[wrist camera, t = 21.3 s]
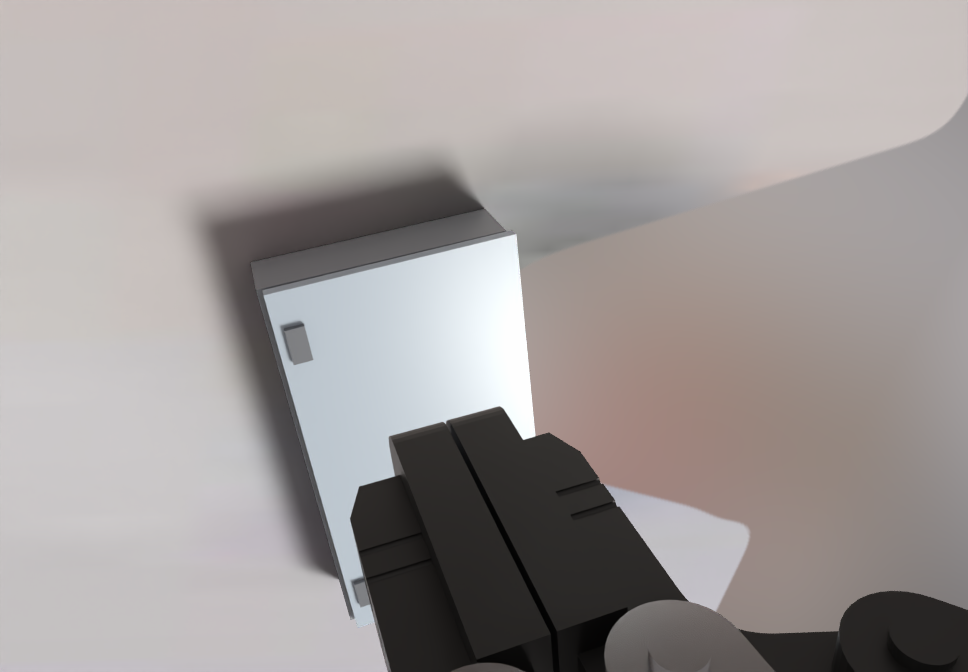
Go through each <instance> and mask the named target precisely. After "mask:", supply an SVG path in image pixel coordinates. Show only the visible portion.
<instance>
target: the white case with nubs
mask: <svg viewBox="0 0 968 672" xmlns="http://www.w3.org/2000/svg"><path fill="white" fill-rule="evenodd" d="M502 232H506V230H505V229H504V228H503V227H502V226H501V225H500V224H499V223H498V222H497V221H496V220H495V219H494V218H493V217H492V216H491V215H490V213H489V212H488V211H487V210H486V209H481V210H477V211H472V212H468V213H464V214H459V215H455V216H451V217H446V218H442V219H437V220H433V221H429V222H424V223H420V224H416V225H411V226H407V227H403V228H398V229H394V230H389V231H385V232H381V233H376V234H372V235H368V236H363V237H359V238H355V239H350V240H346V241H341V242H337V243H333V244H328V245H324V246H320V247H315V248H311V249H306V250H302V251H298V252H293V253H289V254H285V255H280V256H276V257H272V258H267V259H263V260H258V261H254V262H250V263H251V268H252V273H253V279H254V284H255V289H256V293H257V296H258V300H259V303H260V307H261V310H262V314H263V317H264V321H265V324H266V328H267V331H268V334H269V338H270V341H271V345H272V348H273V352H274V355H275V359H276V362H277V366H278V369H279V373H280V376H281V380H282V383H283V387H284V390H285V393H286V397H287V400H288V404H289V407H290V411H291V414H292V418H293V421H294V425H295V428H296V432H297V435H298V439H299V442H300V446H301V449H302V453H303V456H304V459H305V463H306V466H307V470H308V473H309V477H310V480H311V484H312V487H313V491H314V494H315V498H316V501H317V505H318V508H319V512H320V515H321V518H322V522H323V525H324V529H325V532H326V536H327V539H328V543H329V546H330V550H331V553H332V557H333V560H334V564H335V567H336V571H337V574H338V577H339V581H340V584H341V588H342V591H343V595H344V598H345V602H346V605H347V609H348V612H349V616H350V619H351V620H352V619H355V617H354V613H353V610H352V606H351V603H350V599H349V595H348V592H347V588H346V585H345V581H344V578H343V574H342V571H341V567H340V564H339V560H338V557H337V553H336V550H335V546H334V543H333V539H332V536H331V532H330V528H329V525H328V521H327V518H326V514H325V511H324V507H323V504H322V500H321V497H320V493H319V490H318V486H317V483H316V479H315V476H314V472H313V469H312V465H311V461H310V458H309V454H308V451H307V447H306V444H305V440H304V437H303V433H302V430H301V426H300V423H299V419H298V416H297V412H296V409H295V405H294V402H293V398H292V394H291V391H290V387H289V384H288V380H287V377H286V373H285V370H284V366H283V363H282V359H281V356H280V352H279V349H278V345H277V342H276V338H275V334H274V331H273V327H272V324H271V320H270V317H269V313H268V310H267V306H266V303H265V299H264V296H263V291H262V290H266V289H270V288H274V287H278V286H282V285H286V284H291V283H295V282H299V281H303V280H307V279H311V278H315V277H320V276H324V275H328V274H332V273H336V272H340V271H344V270H349V269H353V268H357V267H361V266H365V265H369V264H373V263H378V262H382V261H386V260H390V259H394V258H398V257H403V256H407V255H411V254H415V253H419V252H423V251H427V250H432V249H436V248H440V247H444V246H448V245H452V244H456V243H461V242H465V241H469V240H473V239H477V238H481V237H485V236H490V235H494V234H498V233H502Z"/></svg>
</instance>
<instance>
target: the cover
mask: <svg viewBox="0 0 968 672" xmlns="http://www.w3.org/2000/svg"><path fill="white" fill-rule="evenodd" d="M262 291H263V296H264V299H265V303H266V306H267V310H268V313H269V317H270V320H271V324H272V327H273V331H274V334H275V338H276V342H277V345H278V349H279V352H280V356H281V359H282V363H283V366H284V370H285V373H286V377H287V380H288V384H289V387H290V391H291V394H292V398H293V402H294V405H295V409H296V412H297V416H298V419H299V423H300V426H301V430H302V433H303V437H304V440H305V444H306V447H307V451H308V454H309V458H310V461H311V465H312V469H313V472H314V476H315V479H316V483H317V486H318V490H319V493H320V497H321V500H322V504H323V507H324V511H325V514H326V518H327V521H328V525H329V528H330V532H331V536H332V539H333V543H334V546H335V550H336V553H337V557H338V560H339V564H340V567H341V571H342V574H343V578H344V581H345V585H346V588H347V592H348V595H349V599H350V603H351V606H352V610H353V613H354V617H355V620H356V624H357V627H358V628H360V627H362V626H365V625H368V624H371V623H374V622H375V621H374V617H373V614H372V610H371V606H370V602H369V598H368V594H367V589H366V585H365V581H364V577H363V573H362V568H361V564H360V560H359V556H358V551H357V547H356V543H355V539H354V534H353V530H352V526H351V522H350V517H351V513H352V510H353V506H354V503H355V499H356V496H357V492H358V489H359V486H363V485H366V484H370V483H373V482H377V481H380V480H384V479H387V478H391V477H394V476H395V474H394V469H393V463H392V458H391V453H390V447H389V436H392V435H396V434H399V433H403V432H407V431H410V430H414V429H418V428H421V427H425V426H429V425H433V424H436V423H440V422H444V423H445V424H446V421H447V420H450V419H454V418H458V417H461V416H465V415H469V414H472V413H476V412H480V411H483V410H487V409H491V408H495V407H498V406H500V407H502V408H503V409H504V410H505V412H506V413H507V415H508V416H509V418H510V420H511V421H512V423H513V424H514V426H515V428H516V429H517V431H518V432H519V434H520V436H521V437H522V439H523V440H525V439H528V438H532V437H535V428H534V418H533V408H532V397H531V386H530V375H529V365H528V354H527V344H526V333H525V323H524V312H523V301H522V290H521V280H520V269H519V259H518V248H517V237H516V233H515V232H514V231H513V230H510V231H506V232H502V233H498V234H494V235H490V236H485V237H481V238H477V239H473V240H469V241H465V242H461V243H456V244H452V245H448V246H444V247H440V248H436V249H432V250H427V251H423V252H419V253H415V254H411V255H407V256H403V257H398V258H394V259H390V260H386V261H382V262H378V263H373V264H369V265H365V266H361V267H357V268H353V269H349V270H344V271H340V272H336V273H332V274H328V275H324V276H320V277H315V278H311V279H307V280H303V281H299V282H295V283H291V284H286V285H282V286H278V287H274V288H270V289H266V290H262Z"/></svg>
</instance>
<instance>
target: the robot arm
mask: <svg viewBox="0 0 968 672" xmlns="http://www.w3.org/2000/svg"><path fill="white" fill-rule="evenodd" d="M389 447H390V453H391V458H392V463H393V469H394V474H395V476H394V477H391V478H387V479H384V480H380V481H377V482H373V483H370V484H366V485H363V486H359V489H358V492H357V496H356V499H355V503H354V506H353V510H352V513H351V517H350V522H351V526H352V530H353V534H354V539H355V543H356V547H357V551H358V556H359V560H360V564H361V568H362V573H363V577H364V581H365V585H366V589H367V594H368V598H369V602H370V606H371V610H372V614H373V617H374V621H375V625H376V629H377V633H378V636H379V640H380V644H381V648H382V651H383V655H384V659H385V663H386V666H387V670H388V672H968V610H966V609H963V608H960V607H957V606H955V605H951V604H949V603H946V602H943V601H940V600H937V599H934V598H931V597H927V596H924V595H921V594H915V593H910V592H901V591H900V592H899V591H887V592H879V593H874V594H870V595H867V596H865V597H863V598H860V599H859V600H857V601H856V602H854V603H853V604H851V606H850V607H849V608H848V609H847V610H846V611H845V613H844V615H843V617H842V619H841V622H840V628H839V631H837V632H808V633H780V634H767V633H766V634H765V633H755V632H748V631H744V630H740V629H737V628H736V627H735V626H734V625H733V624H732V623H731V622H730V621H728V620H727V619H726V618H724V617H723V616H722V615H720V614H719V613H717V612H715V611H713V610H711V609H709V608H707V607H704V606H701V605H699V604H695V603H691V602H689V601H688V600H687V599H686V598H685V597H684V596H683V594H682V593H681V592H680V591H679V589H678V588H677V587H676V585H675V584H674V582H673V581H672V580H671V578H670V577H669V575H668V574H667V573H666V571H665V570H664V568H663V567H662V566H661V564H660V563H659V561H658V560H657V559H656V557H655V556H654V554H653V553H652V552H651V550H650V549H649V547H648V546H647V545H646V543H645V542H644V540H643V539H642V538H641V536H640V535H639V533H638V532H637V531H636V529H635V528H634V526H633V525H632V524H631V522H630V521H629V519H628V518H627V517H626V515H625V514H624V512H623V511H622V510H621V508H620V507H617V506H616V503H615V500H614V498H613V497H612V496H611V494H610V493H609V491H608V490H607V489H606V487H605V486H604V484H601V483H600V480H599V477H598V476H597V475H596V473H595V472H594V470H593V469H592V468H591V466H590V465H589V463H588V462H587V461H586V459H585V458H584V456H583V455H582V454H581V452H580V451H578V450H576V449H575V448H573V447H572V446H570V445H568V444H567V443H565V442H563V441H562V440H560V439H559V438H557V437H555V436H554V435H552V434H550V433H546V434H542V435H539V436H535V437H532V438H528V439H525V440H523V439H522V437H521V436H520V434H519V432H518V431H517V429H516V428H515V426H514V424H513V423H512V421H511V420H510V418H509V416H508V415H507V413H506V412H505V410H504V409H503V408H502V407H500V406H498V407H495V408H491V409H487V410H483V411H480V412H476V413H472V414H469V415H465V416H461V417H458V418H454V419H450V420H447V421H446V424H445V423H444V422H440V423H436V424H433V425H429V426H425V427H421V428H418V429H414V430H410V431H407V432H403V433H399V434H396V435H392V436H389Z"/></svg>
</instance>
